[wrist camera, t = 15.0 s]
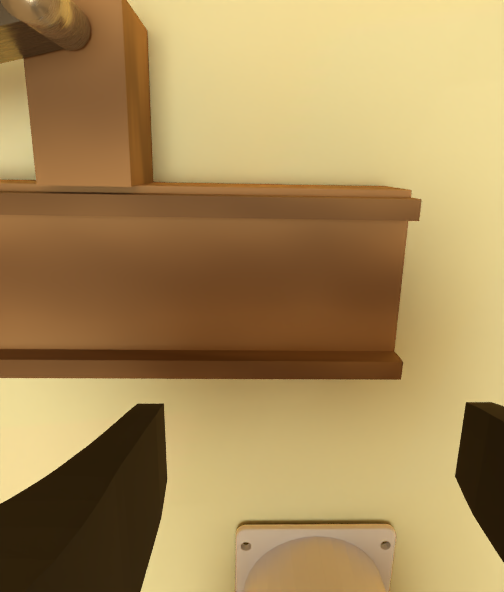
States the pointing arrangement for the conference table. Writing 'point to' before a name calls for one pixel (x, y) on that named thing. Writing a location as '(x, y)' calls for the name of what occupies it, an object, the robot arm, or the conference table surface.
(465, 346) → the conference table surface
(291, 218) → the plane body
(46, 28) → the lever
